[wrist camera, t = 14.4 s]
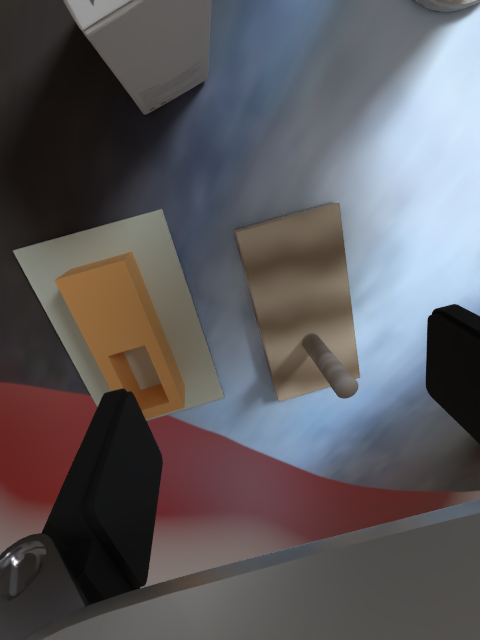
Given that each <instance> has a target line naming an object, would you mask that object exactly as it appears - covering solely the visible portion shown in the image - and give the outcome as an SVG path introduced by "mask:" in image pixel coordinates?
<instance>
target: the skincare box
mask: <svg viewBox="0 0 480 640" xmlns="http://www.w3.org/2000/svg"><path fill="white" fill-rule="evenodd" d="M63 1H64V3H65V4H66V6H67V8H68V10H69V11H70V13H71V15H72V17H73V18H74V20H75V22H76V23H77V25H78V27H79V28H80V29H81V31H82V32H83V33H84V35H85V36H86V37H87V39H88V40H89V41H90V42H91V44H92V45H93V46H94V48H95V49H96V50H97V52H98V53H99V55H100V56H101V57H102V59H103V60H104V61H105V63H106V64H107V65H108V67H109V68H110V69H111V71H112V72H113V73H114V75H115V76H116V77H117V79H118V80H119V81H120V83H121V84H122V85H123V87H124V88H125V90H126V91H127V92H128V94H129V95H130V96H131V97H132V99H133V100H134V102H135V103H136V104H137V106H138V107H139V109H140V110H141V112H142V113H143V114H144V115H146V114H148V113H150V112H152V111H154V110H155V109H157V108H159V107H161V106H163V105H164V104H166V103H168V102H170V101H171V100H173V99H175V98H176V97H178V96H180V95H182V94H183V93H185V92H187V91H189V90H190V89H192V88H194V87H195V86H197V85H199V84H200V83H202V82H204V81H205V80H207V78H208V61H209V39H210V16H211V0H63Z"/></svg>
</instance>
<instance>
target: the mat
mask: <svg viewBox="0 0 480 640" xmlns="http://www.w3.org/2000/svg"><path fill="white" fill-rule="evenodd" d="M13 252H14V254H15V256H16V258H17V260H18V262H19V263H20V265H21V267H22V269H23V271H24V273H25V275H26V276H27V278H28V280H29V282H30V284H31V286H32V288H33V289H34V291H35V293H36V295H37V297H38V299H39V300H40V302H41V304H42V306H43V308H44V310H45V312H46V313H47V315H48V317H49V319H50V321H51V323H52V324H53V326H54V328H55V330H56V332H57V334H58V336H59V337H60V339H61V341H62V343H63V345H64V347H65V348H66V350H67V352H68V354H69V356H70V358H71V360H72V361H73V363H74V365H75V367H76V369H77V371H78V372H79V374H80V376H81V378H82V380H83V382H84V384H85V385H86V387H87V389H88V391H89V393H90V395H91V396H92V398H93V400H94V402H95V404H96V406H97V407H98V405H99V403H100V401H101V398H102V396H103V394H104V393H106V392H110V391H111V390H110V388H109V386H108V384H107V382H106V380H105V378H104V376H103V374H102V372H101V370H100V368H99V366H98V364H97V362H96V360H95V358H94V357H93V355H92V353H91V351H90V349H89V347H88V345H87V343H86V341H85V339H84V337H83V335H82V333H81V331H80V329H79V327H78V325H77V323H76V321H75V319H74V317H73V316H72V314H71V312H70V310H69V308H68V306H67V304H66V302H65V300H64V298H63V296H62V294H61V292H60V290H59V288H58V286H57V284H56V282H55V279H57V278H58V277H60V276H61V275H63V274H64V273H65V272H67V271H68V270H70V269H72V268H76V267H79V266H83V265H86V264H90V263H93V262H97V261H100V260H104V259H107V258H111V257H114V256H118V255H121V254H125V253H128V252H132V253H133V255H134V258H135V260H136V263H137V265H138V268H139V270H140V273H141V275H142V278H143V280H144V283H145V286H146V288H147V291H148V293H149V296H150V298H151V301H152V303H153V306H154V308H155V311H156V313H157V316H158V318H159V321H160V324H161V326H162V329H163V331H164V334H165V336H166V339H167V341H168V344H169V346H170V349H171V351H172V354H173V356H174V359H175V361H176V364H177V367H178V369H179V372H180V374H181V377H182V379H183V382H184V384H185V408H182V409H179V410H175V411H172V412H169V413H166V414H162V415H159V416H156V417H152V418H149V419H146V421H148V420H152V419H155V418H158V417H161V416H165V415H168V414H172V413H175V412H178V411H182V410H185V409H188V408H192V407H195V406H199V405H202V404H205V403H209V402H212V401H215V400H219V399H222V398H225V396H224V393H223V390H222V387H221V384H220V381H219V378H218V375H217V372H216V369H215V366H214V363H213V360H212V357H211V354H210V351H209V348H208V345H207V342H206V339H205V336H204V333H203V330H202V327H201V324H200V321H199V318H198V315H197V312H196V309H195V306H194V303H193V300H192V297H191V294H190V291H189V288H188V285H187V282H186V279H185V276H184V273H183V270H182V267H181V264H180V261H179V258H178V255H177V252H176V249H175V246H174V243H173V240H172V237H171V234H170V231H169V228H168V225H167V222H166V219H165V216H164V213H163V210H162V209H160V210H156V211H153V212H149V213H146V214H142V215H138V216H135V217H131V218H128V219H124V220H121V221H117V222H113V223H110V224H106V225H103V226H99V227H95V228H92V229H88V230H85V231H81V232H78V233H74V234H70V235H67V236H63V237H60V238H56V239H52V240H49V241H45V242H42V243H38V244H34V245H31V246H27V247H24V248H20V249H17V250H13ZM124 354H125V357H126V359H127V361H128V363H129V365H130V367H131V370H132V372H133V374H134V376H135V378H136V380H137V382H138V385H139V387H140V389H141V390H142V389H145V388H149V387H152V386H155V385H159V384H161V381H160V379H159V377H158V374H157V372H156V370H155V367H154V365H153V363H152V360H151V358H150V356H149V353H148V351H147V349H146V346H145V345H144V346H141V347H138V348H134V349H131V350H127V351H124Z"/></svg>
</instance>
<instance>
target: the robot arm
mask: <svg viewBox="0 0 480 640" xmlns="http://www.w3.org/2000/svg"><path fill="white" fill-rule="evenodd" d="M415 1H416V2H418V3H419V4H421V5H422V6H424V7H426V8H429V9H432V10H435V11H440V12H453V11H458V10H463V9H465V8H468V7H470V6H472V5H474V4H476V3H478V2H479V1H480V0H415ZM426 388H427V391H428V393H429V395H430V396H431V397H432V398H433V399H434V400H435V401H436V402H437V403H438V404H439V405H440V406H441V407H442V408H443V409H444V410H445V411H446V412H447V413H448V414H449V415H450V416H452V417H453V418H454V419H455V420H456V421H457V422H458V423H459V424H460V425H461V426H462V427H463V428H464V429H465V430H466V431H467V432H468V433H469V434H470V435H471V436H472V437H473V438H474V439H475V440H476V441H477V442H478V443H479V444H480V316H478V315H476V314H474V313H472V312H470V311H468V310H467V309H465V308H463V307H461V306H459V305H456V304H453V305H449V306H445V307H441V308H437V309H435V310H433V312H432V315H430V316H429V317H428V326H427V360H426ZM161 472H162V455H161V452H160V450H159V447H158V446H157V443H156V441H155V439H154V437H153V435H152V432H151V430H150V428H149V426H148V424H147V421H146V419H145V417H144V415H143V413H142V411H141V408H140V406H139V404H138V402H137V400H136V398H135V395H134V394H133V392H132V391H129V392H127V391H126V390H125V389H124V388H122V389H118V390H114V391H110V392H106V393H104V394H103V396H102V398H101V401H100V403H99V405H98V407H97V410H96V412H95V414H94V417H93V419H92V421H91V423H90V426H89V428H88V430H87V432H86V435H85V437H84V439H83V442H82V444H81V446H80V448H79V450H78V452H77V454H76V457H75V459H74V461H73V463H72V466H71V468H70V470H69V472H68V475H67V477H66V479H65V481H64V484H63V486H62V488H61V490H60V493H59V495H58V497H57V500H56V502H55V504H54V506H53V508H52V511H51V513H50V515H49V518H48V520H47V522H46V524H45V527H44V529H43V531H42V533H39V534H34V535H30V536H27V537H25V538H23V539H21V540H19V541H17V542H16V543H14V544H13V545H11V546H10V547H9V548H7V549H6V550H5V551H4V552H3V553H2V554H1V555H0V640H480V500H476V501H472V502H468V503H464V504H460V505H456V506H452V507H448V508H444V509H440V510H436V511H432V512H428V513H424V514H421V515H416V516H413V517H409V518H405V519H401V520H397V521H393V522H389V523H385V524H382V525H378V526H373V527H370V528H366V529H362V530H358V531H354V532H350V533H346V534H343V535H338V536H334V537H331V538H327V539H323V540H319V541H315V542H311V543H308V544H304V545H300V546H296V547H292V548H288V549H284V550H281V551H277V552H273V553H269V554H265V555H262V556H258V557H254V558H250V559H246V560H243V561H239V562H235V563H231V564H227V565H224V566H220V567H216V568H212V569H208V570H205V571H201V572H197V573H194V574H190V575H186V576H183V577H179V578H176V579H173V580H169V581H166V582H162V583H158V584H155V585H151V586H148V587H144V588H140V587H142V586H144V585H145V584H146V582H147V577H148V569H149V562H150V554H151V547H152V540H153V532H154V525H155V516H156V510H157V502H158V495H159V487H160V480H161Z"/></svg>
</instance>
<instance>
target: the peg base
mask: <svg viewBox="0 0 480 640" xmlns="http://www.w3.org/2000/svg"><path fill="white" fill-rule="evenodd" d="M234 233H235V237H236V241H237V245H238V249H239V253H240V257H241V261H242V265H243V268H244V272H245V276H246V280H247V284H248V288H249V292H250V296H251V300H252V304H253V308H254V312H255V316H256V320H257V323H258V327H259V331H260V335H261V339H262V343H263V347H264V351H265V355H266V359H267V363H268V367H269V371H270V375H271V378H272V382H273V386H274V390H275V393H276V396H277V398H278V401H279V402H280V401H284V400H287V399H290V398H294V397H297V396H301V395H304V394H307V393H311V392H314V391H317V390H321V389H324V388H327V387H332V389H333V390H334V392H335V393H336V394H337V396H338V397H340V398H349V397H351V396H353V395H354V394H355V393H356V392H357V390H358V383H357V381H356V380H355V379H357V378H360V373H359V364H358V356H357V348H356V339H355V331H354V323H353V314H352V306H351V298H350V289H349V281H348V273H347V265H346V256H345V248H344V240H343V231H342V223H341V215H340V206H339V203H327V204H324V205H320V206H316V207H313V208H309V209H306V210H302V211H299V212H295V213H292V214H288V215H285V216H281V217H278V218H274V219H270V220H267V221H263V222H260V223H256V224H253V225H249V226H246V227H242V228H239V229H235V230H234Z"/></svg>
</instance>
